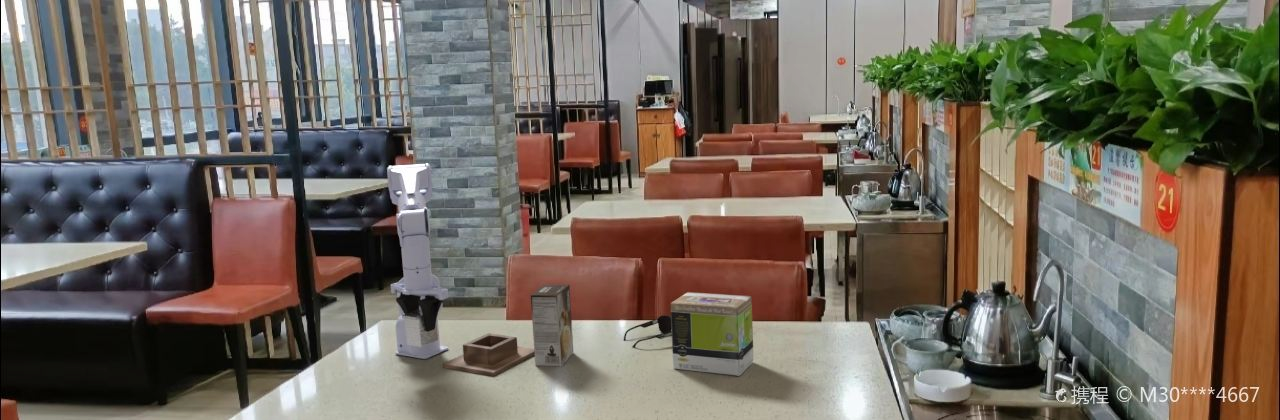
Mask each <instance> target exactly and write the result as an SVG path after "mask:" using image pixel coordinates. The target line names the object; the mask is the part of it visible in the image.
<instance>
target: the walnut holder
mask: <svg viewBox="0 0 1280 420" xmlns="http://www.w3.org/2000/svg"><path fill="white" fill-rule="evenodd" d="M533 356H535V353H534V348H529V347H523V346H518V338H517V337H516V336H510V335H502V334H497V333H491V332H489V333H486V334H484V335H482V336H481V335H480V336H479V337H477V338H475V339H472V340H470V341H468V342H466V343H464V344H462V354H461V355H459V356H457V357H454V358H452V359H450V360H448V361H445V362H444V363H442V367H443V368H444V369H452V370H456V371H457V370H458V371H461V372H468V373H474V374H479V375H485V376H490V377H494V376H497V375H498V374H500V373H502V372H504V371H506V370H508V369H510V368H512V367H514V366H515V365H518V364H520V363H522V362H523V361H526V360H528V358H531V357H533Z"/></svg>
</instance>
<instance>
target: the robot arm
mask: <svg viewBox="0 0 1280 420" xmlns="http://www.w3.org/2000/svg"><path fill="white" fill-rule="evenodd" d="M386 170H387V171H386V173H387V174H386V175H387V186H388V191H389V197H390V200H391V203H392V204H393V205H396V206H397V210H398V213H396V228H397V229H396V230H397V235H398V237H399V245H400V246H399V247H401V249H400V250H401V259H402V260H401V261H402V271H403V272H402V273H403V277H402V278H401V279H400V280H399V281H398V282H395V283H391V284H390V293H391V294H397V295H396V298H395V301H396V303H397V309H398V314H399V315H400V316H399V317H398V318H397V321H396V323H395V335H396V347H397V350H396V351H394V354H395V355H400V356H405V357H406V356H407V357H410V358H417V359H422V360H427V359H429V358H431V357H433V356H436V355H438V354H440V353H442V352H445V351H448V350H449V347H448V346H447V345H446V346H445V345H441V343H440V341H441V340H440V329H439V317H438V316H439V313H440V312H441V311H442V310H444V309H443V308H444V307H443V302H444V300H446V299H449V288H444V287H441V280H440V279H439V277H438V276H436V275H435V274H432V261H431V250H430V249H431V248H430V247H431V246H430V234H431V223H430V222H431V221H430V213H429V210H428V207H427V203H428V202H430V201H432V196H433V189H432V188H433V179H432V169H431V165H430V164H429V162H425V163H417V164H404V165H401V164H400V165H388V167H386ZM420 308H421V310H422V314H423V318H424V326H425V330H426V331H428V332H429V331H431V330H434V329H435V325H436V322H437V334H438V340H436V341H434V342H432V343H429V344H427V345H425V346H422V347H419V346H413V345H407V336H406V325H405V318H402V315H404V314H407V313H409V312H412V311H415V310H417V309H420Z"/></svg>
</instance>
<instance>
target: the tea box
mask: <svg viewBox="0 0 1280 420" xmlns="http://www.w3.org/2000/svg"><path fill="white" fill-rule="evenodd" d="M670 316H671V327H672V330H671V331H672V336H671V348H672V349H671V350H672V351H671V352H672V364H673V369H676V370H684V371H694V372H702V373H710V374H720V375H728V376H729V375H730V376H738V377H739V376H741V375H742V374H743V373H744V372H745V371H747V369H748V368H749V367H750V366H751V365H752V364H753V363H754V330H753V301H752V296H751V295H736V294H721V293H705V292H691V291H688V292H686V293H684V294H683V295H681V296H680V297H678V298H677V299H675V300H673V301H672V302H670Z"/></svg>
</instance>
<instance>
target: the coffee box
mask: <svg viewBox="0 0 1280 420" xmlns="http://www.w3.org/2000/svg"><path fill="white" fill-rule="evenodd" d="M530 304H531V305H530V306H531V308H530V309H531V320H532V333H533V335H532V336H533V349H534V353H535V355H534V365H535V366H536V367H537V366H539V367H541V366H542V367H544V366H545V367H549V366H550V367H562V366H564V364H565V363H566V362H567V361H568V360H569V358H570V357H571V356H572V355H573V353H574V340H573V339H574V336H573V322H572V321H573V320H572V306H571V305H572V303H571V290H570V284H542V285H541V286H540V287H539V288H537V290H535V291H534V292H533V293H531V294H530Z"/></svg>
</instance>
